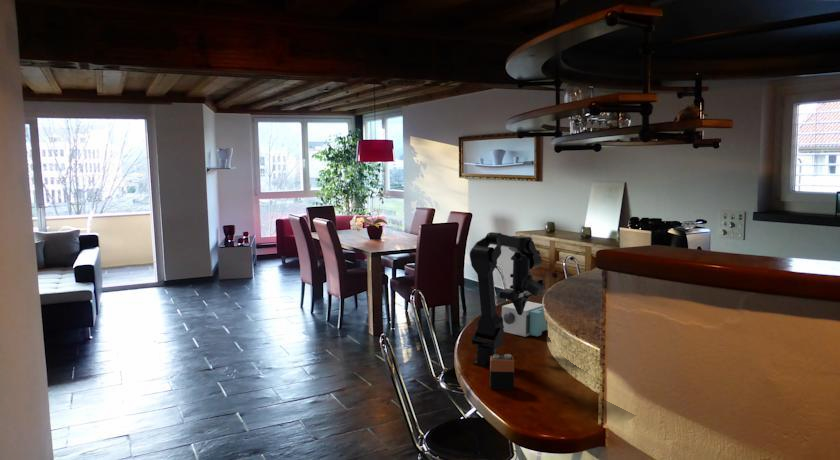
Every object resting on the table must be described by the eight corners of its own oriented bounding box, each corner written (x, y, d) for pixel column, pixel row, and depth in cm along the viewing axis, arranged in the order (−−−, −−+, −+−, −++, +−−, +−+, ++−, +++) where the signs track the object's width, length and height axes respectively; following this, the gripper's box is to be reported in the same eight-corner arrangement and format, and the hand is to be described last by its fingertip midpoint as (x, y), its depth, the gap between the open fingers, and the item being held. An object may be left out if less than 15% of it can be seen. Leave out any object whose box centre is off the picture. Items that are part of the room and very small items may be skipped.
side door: (537, 336, 231) (538, 313, 230) (529, 334, 233) (530, 311, 232) (552, 330, 239) (553, 308, 238) (544, 328, 241) (545, 306, 240)
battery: (513, 390, 178) (514, 357, 176) (490, 390, 178) (491, 357, 177) (512, 385, 182) (513, 352, 181) (489, 384, 182) (490, 352, 181)
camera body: (523, 337, 231) (524, 311, 230) (499, 331, 238) (500, 306, 237) (545, 329, 242) (545, 304, 241) (521, 324, 249) (522, 300, 248)
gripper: (525, 278, 203) (524, 324, 205) (555, 271, 216) (553, 314, 218) (498, 274, 210) (497, 318, 212) (528, 267, 224) (527, 308, 226)
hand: (520, 314), depth 217 cm, fingers closed
